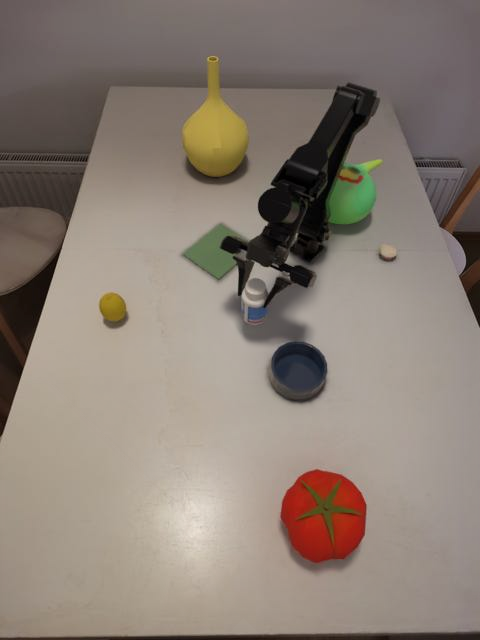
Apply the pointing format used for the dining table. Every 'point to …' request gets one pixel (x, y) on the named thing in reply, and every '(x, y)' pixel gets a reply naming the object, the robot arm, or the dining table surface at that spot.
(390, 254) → the macaroon
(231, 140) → the vase
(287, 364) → the shallow round bowl
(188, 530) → the dining table surface
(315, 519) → the tomato
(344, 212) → the toy bird
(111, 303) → the lemon
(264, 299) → the pill bottle
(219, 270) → the towel
